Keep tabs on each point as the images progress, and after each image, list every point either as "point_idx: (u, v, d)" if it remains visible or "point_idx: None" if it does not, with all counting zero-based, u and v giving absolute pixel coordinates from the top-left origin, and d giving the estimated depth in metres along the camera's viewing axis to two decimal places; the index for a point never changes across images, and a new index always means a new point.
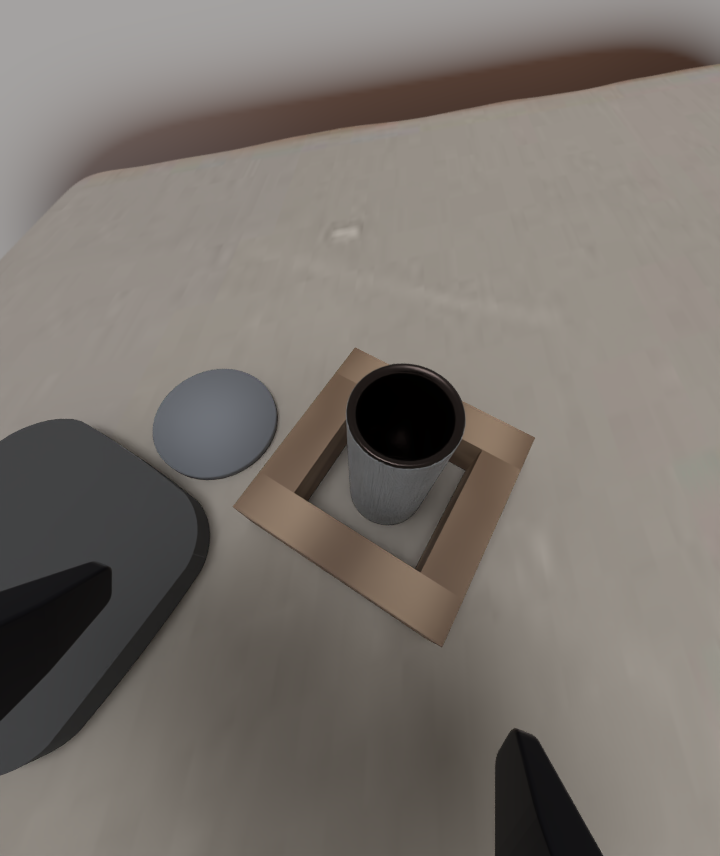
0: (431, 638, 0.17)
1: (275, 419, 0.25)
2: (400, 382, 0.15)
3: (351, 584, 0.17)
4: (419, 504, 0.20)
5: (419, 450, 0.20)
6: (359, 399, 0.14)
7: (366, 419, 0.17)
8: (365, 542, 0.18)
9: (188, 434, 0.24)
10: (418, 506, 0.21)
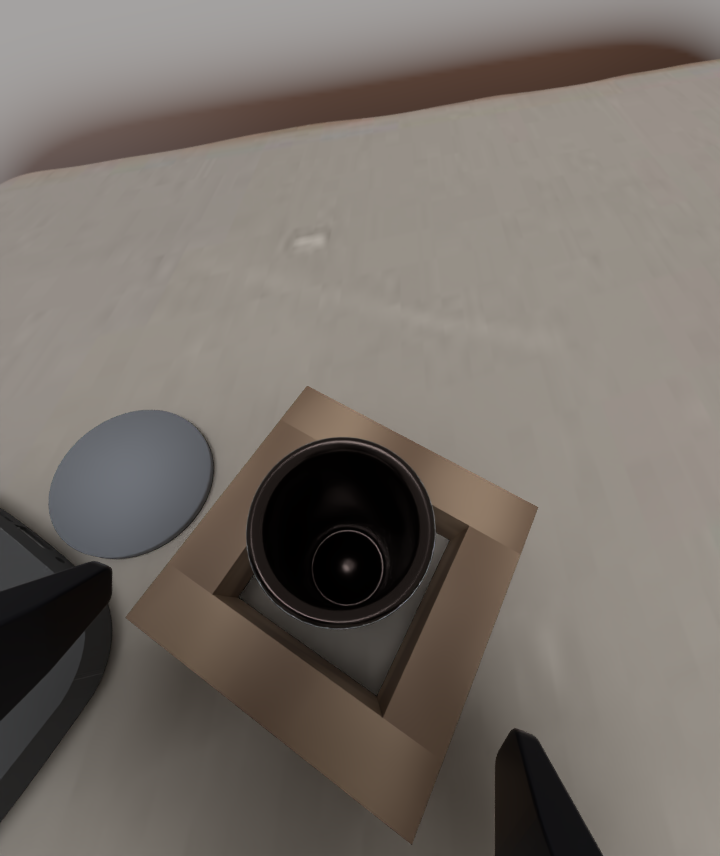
0: (396, 829, 0.11)
1: (209, 475, 0.19)
2: (341, 462, 0.10)
3: (283, 740, 0.12)
4: None
5: (384, 531, 0.15)
6: (271, 498, 0.09)
7: (300, 506, 0.12)
8: (307, 670, 0.13)
9: (95, 498, 0.19)
10: None
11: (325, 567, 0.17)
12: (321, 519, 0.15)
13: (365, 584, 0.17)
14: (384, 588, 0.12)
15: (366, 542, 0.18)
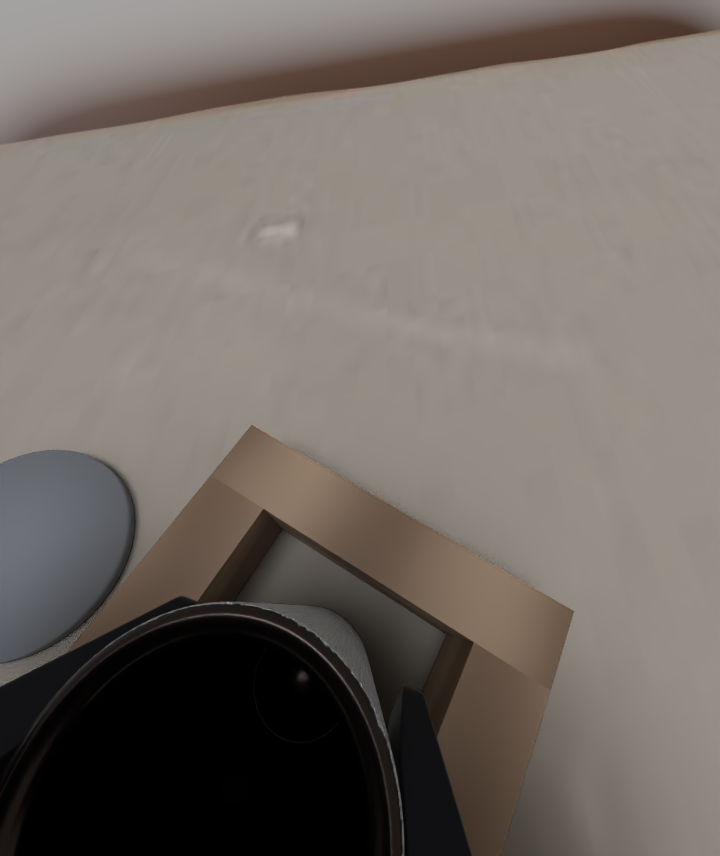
0: None
1: (125, 542, 0.15)
2: None
3: None
4: None
5: None
6: (50, 764, 0.04)
7: (186, 671, 0.07)
8: None
9: None
10: None
11: (271, 684, 0.12)
12: None
13: (327, 710, 0.12)
14: (334, 796, 0.07)
15: None
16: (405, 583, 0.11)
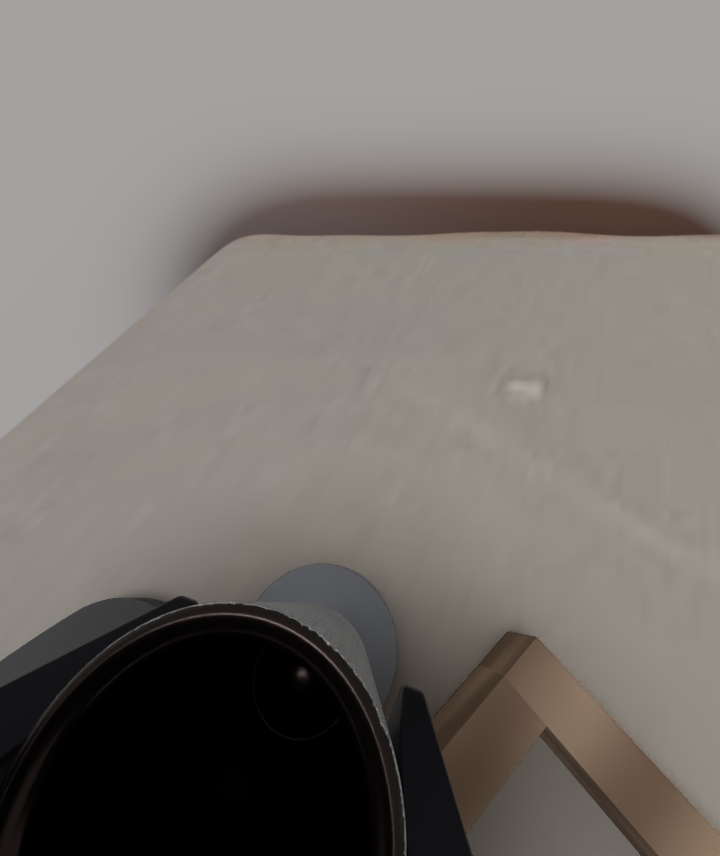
0: None
1: (393, 674, 0.18)
2: None
3: None
4: None
5: None
6: (53, 762, 0.04)
7: (187, 670, 0.07)
8: None
9: None
10: None
11: (271, 681, 0.12)
12: None
13: (327, 707, 0.12)
14: (335, 792, 0.07)
15: None
16: (666, 849, 0.14)
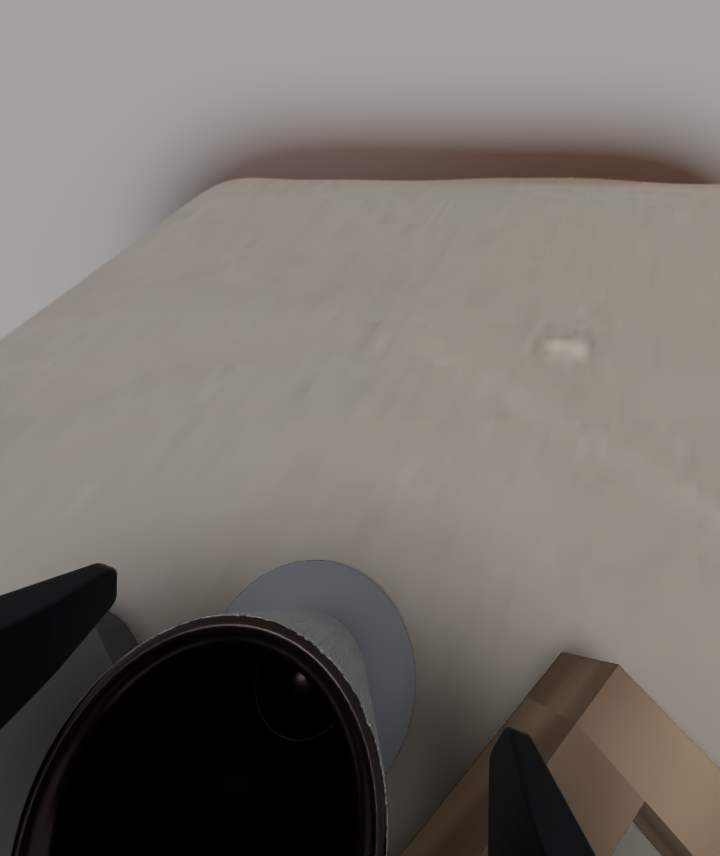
0: None
1: (411, 711, 0.13)
2: None
3: None
4: None
5: None
6: (81, 756, 0.05)
7: (195, 674, 0.07)
8: None
9: None
10: None
11: (272, 685, 0.13)
12: None
13: (325, 710, 0.13)
14: (330, 788, 0.08)
15: None
16: None
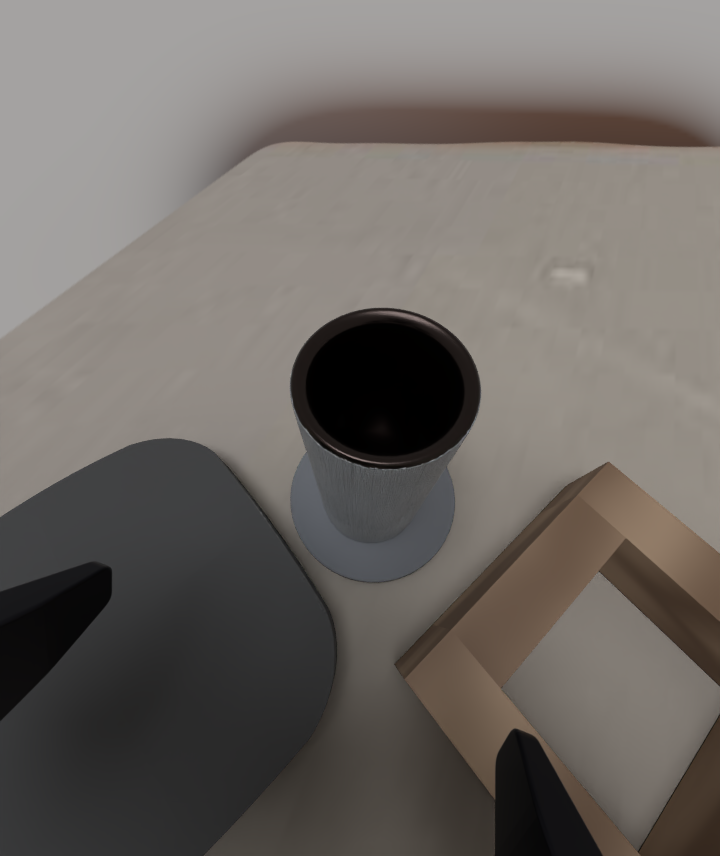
0: None
1: (452, 518, 0.18)
2: (379, 339, 0.10)
3: None
4: (412, 517, 0.15)
5: (411, 444, 0.15)
6: (313, 361, 0.09)
7: (333, 398, 0.12)
8: (616, 837, 0.11)
9: None
10: (411, 519, 0.15)
11: None
12: (347, 435, 0.15)
13: None
14: None
15: None
16: None
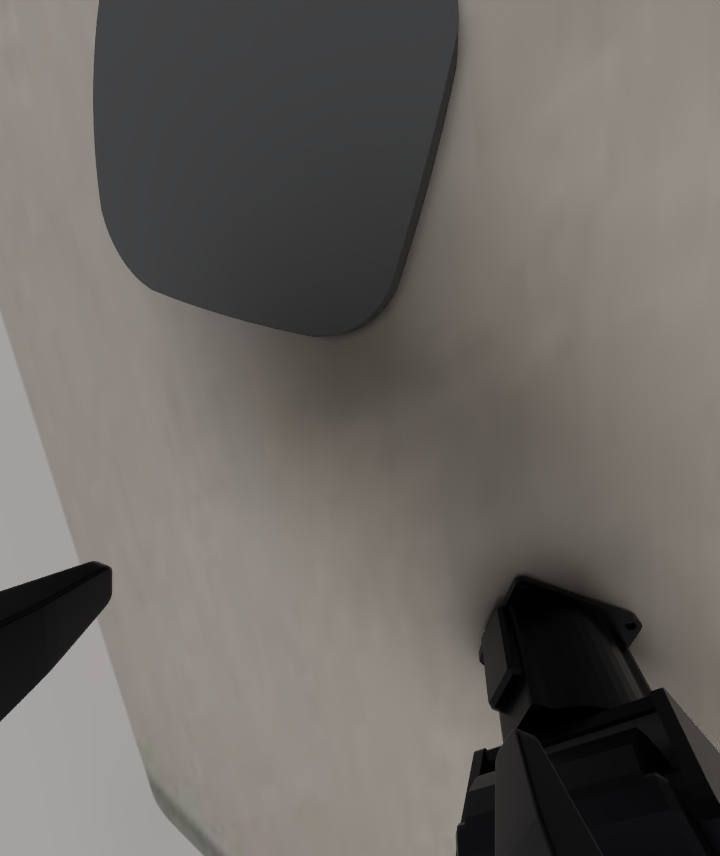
0: None
1: None
2: None
3: None
4: None
5: None
6: None
7: None
8: None
9: None
10: None
11: None
12: None
13: None
14: None
15: None
16: None
